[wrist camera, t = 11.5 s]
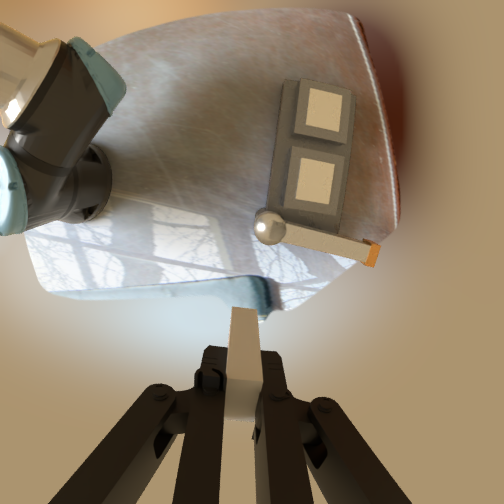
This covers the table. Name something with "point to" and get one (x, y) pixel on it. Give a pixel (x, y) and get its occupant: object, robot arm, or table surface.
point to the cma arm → (313, 238)
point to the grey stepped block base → (311, 154)
